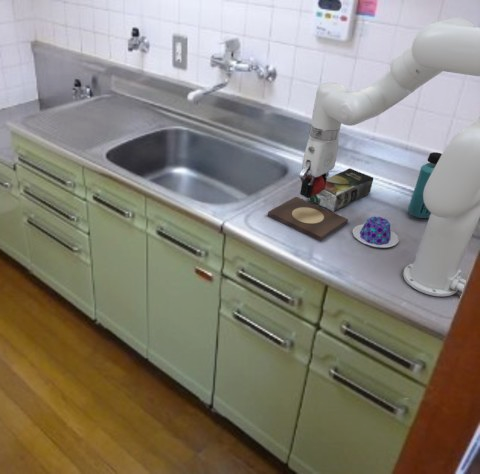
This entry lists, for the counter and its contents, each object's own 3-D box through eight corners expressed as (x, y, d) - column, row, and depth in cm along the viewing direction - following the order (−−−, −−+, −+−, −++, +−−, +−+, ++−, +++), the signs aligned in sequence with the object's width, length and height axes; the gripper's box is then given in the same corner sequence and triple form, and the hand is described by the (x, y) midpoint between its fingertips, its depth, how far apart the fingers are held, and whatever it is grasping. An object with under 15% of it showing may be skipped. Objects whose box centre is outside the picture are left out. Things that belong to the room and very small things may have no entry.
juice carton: (332, 213, 157) (336, 195, 153) (305, 201, 163) (309, 183, 160) (371, 194, 167) (375, 177, 164) (344, 183, 174) (348, 166, 170)
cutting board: (347, 223, 152) (348, 218, 152) (320, 241, 144) (321, 236, 144) (295, 200, 163) (295, 196, 162) (267, 216, 155) (268, 211, 154)
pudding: (344, 237, 146) (348, 221, 143) (364, 221, 153) (368, 205, 151) (386, 255, 139) (391, 238, 136) (404, 237, 147) (410, 221, 144)
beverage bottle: (415, 224, 153) (436, 160, 142) (401, 212, 158) (419, 150, 147) (434, 221, 154) (456, 158, 143) (419, 210, 160) (439, 148, 149)
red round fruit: (322, 202, 147) (327, 176, 142) (301, 199, 148) (306, 174, 143) (321, 192, 151) (326, 167, 147) (300, 190, 152) (305, 164, 148)
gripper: (318, 145, 132) (306, 207, 142) (354, 127, 142) (340, 187, 152) (293, 136, 136) (283, 197, 146) (329, 120, 146) (317, 178, 156)
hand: (312, 191), depth 149 cm, fingers closed on red round fruit, 6 cm apart
